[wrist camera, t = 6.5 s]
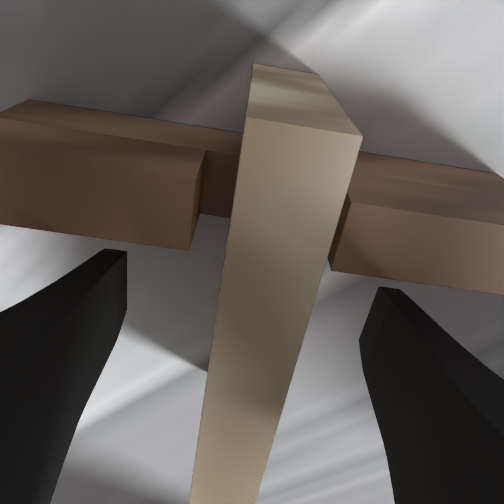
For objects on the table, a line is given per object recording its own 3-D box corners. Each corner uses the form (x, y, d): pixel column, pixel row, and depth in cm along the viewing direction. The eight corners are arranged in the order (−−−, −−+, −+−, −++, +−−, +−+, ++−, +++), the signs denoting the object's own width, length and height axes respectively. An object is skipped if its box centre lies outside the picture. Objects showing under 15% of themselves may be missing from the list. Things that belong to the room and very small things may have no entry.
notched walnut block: (496, 173, 13) (581, 237, 10) (472, 225, 14) (540, 300, 10) (28, 99, 12) (-63, 140, 9) (35, 160, 13) (-45, 217, 10)
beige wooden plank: (318, 74, 12) (363, 136, 7) (250, 378, 18) (245, 534, 13) (253, 63, 12) (246, 116, 6) (207, 373, 18) (185, 528, 13)
